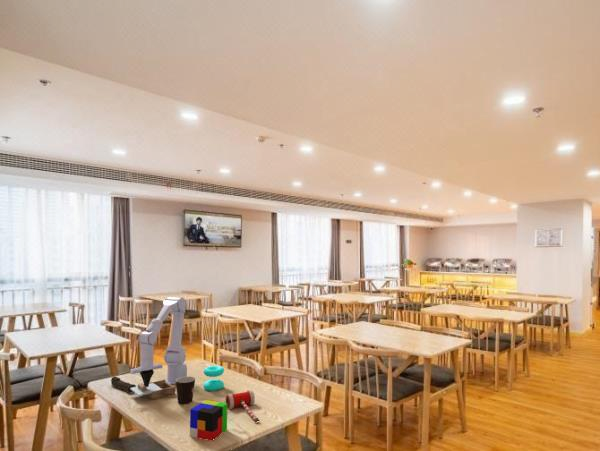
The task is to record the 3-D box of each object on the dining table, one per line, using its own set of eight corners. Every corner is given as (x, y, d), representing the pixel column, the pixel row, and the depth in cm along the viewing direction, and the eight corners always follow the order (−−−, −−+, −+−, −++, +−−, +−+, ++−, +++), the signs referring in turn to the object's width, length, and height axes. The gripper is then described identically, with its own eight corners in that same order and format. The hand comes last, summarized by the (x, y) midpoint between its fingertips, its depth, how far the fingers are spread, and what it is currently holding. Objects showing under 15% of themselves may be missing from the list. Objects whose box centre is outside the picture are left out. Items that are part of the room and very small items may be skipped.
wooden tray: (164, 387, 203) (164, 379, 203) (175, 394, 193) (175, 386, 193) (142, 392, 195) (142, 384, 196) (152, 400, 186) (152, 391, 186)
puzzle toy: (189, 436, 151) (190, 409, 152) (205, 425, 160) (205, 399, 161) (212, 441, 147) (213, 413, 148) (226, 429, 157) (227, 403, 157)
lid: (153, 384, 198) (153, 378, 198) (162, 390, 189) (162, 385, 190) (130, 389, 191) (130, 383, 191) (138, 396, 182) (138, 390, 182)
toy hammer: (270, 420, 166) (270, 405, 166) (243, 427, 160) (244, 410, 160) (249, 401, 185) (249, 387, 186) (225, 406, 180) (225, 392, 180)
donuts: (222, 371, 198) (201, 371, 197) (222, 391, 197) (201, 391, 197) (225, 364, 208) (206, 365, 207) (225, 384, 207) (205, 384, 207)
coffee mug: (184, 396, 190) (184, 375, 191) (198, 400, 186) (199, 378, 187) (166, 405, 180) (166, 382, 180) (181, 409, 176) (181, 385, 176)
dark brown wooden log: (136, 392, 197) (136, 382, 197) (128, 394, 193) (128, 384, 194) (116, 383, 208) (117, 374, 209) (109, 385, 205) (109, 376, 205)
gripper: (158, 352, 199) (157, 380, 198) (128, 358, 189) (127, 387, 188) (164, 355, 194) (163, 384, 193) (133, 361, 184) (133, 391, 183)
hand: (146, 386), depth 190 cm, fingers closed
